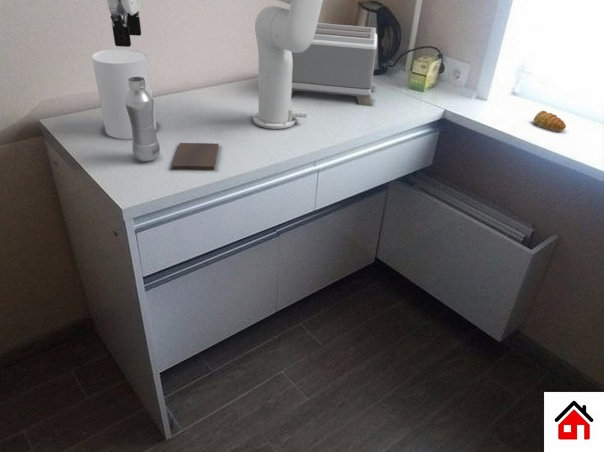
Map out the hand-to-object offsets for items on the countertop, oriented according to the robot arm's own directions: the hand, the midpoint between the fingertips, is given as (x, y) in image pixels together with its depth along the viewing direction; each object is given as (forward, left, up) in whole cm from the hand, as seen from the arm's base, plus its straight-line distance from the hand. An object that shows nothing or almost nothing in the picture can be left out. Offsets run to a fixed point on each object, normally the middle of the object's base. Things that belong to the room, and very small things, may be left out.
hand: (128, 40), depth 108 cm
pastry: (-119, -27, -29) cm, 125 cm away
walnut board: (-13, 0, -28) cm, 31 cm away
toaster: (-50, -53, -29) cm, 78 cm away
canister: (+7, -17, -29) cm, 34 cm away
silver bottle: (-1, +1, -29) cm, 29 cm away
